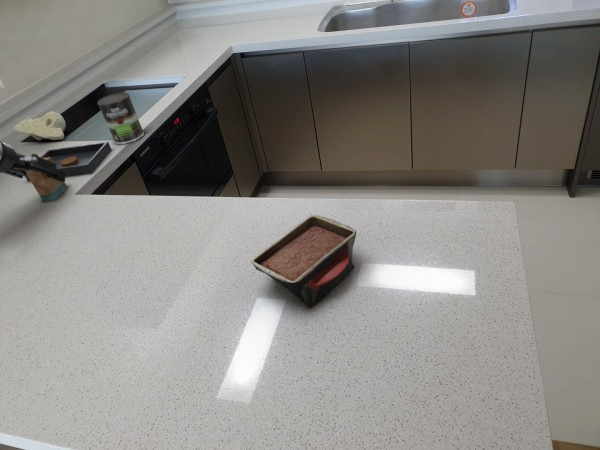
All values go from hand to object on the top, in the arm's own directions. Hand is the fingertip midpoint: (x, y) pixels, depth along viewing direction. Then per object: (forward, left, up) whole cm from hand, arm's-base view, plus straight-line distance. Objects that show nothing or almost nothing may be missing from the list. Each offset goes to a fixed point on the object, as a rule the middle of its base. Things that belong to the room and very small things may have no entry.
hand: (56, 177), depth 133 cm
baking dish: (+76, -48, -3) cm, 90 cm away
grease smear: (-4, +14, -2) cm, 15 cm away
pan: (-4, +14, -3) cm, 15 cm away
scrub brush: (0, -4, -3) cm, 5 cm away
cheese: (-26, +38, -3) cm, 46 cm away
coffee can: (+10, +30, -3) cm, 32 cm away
